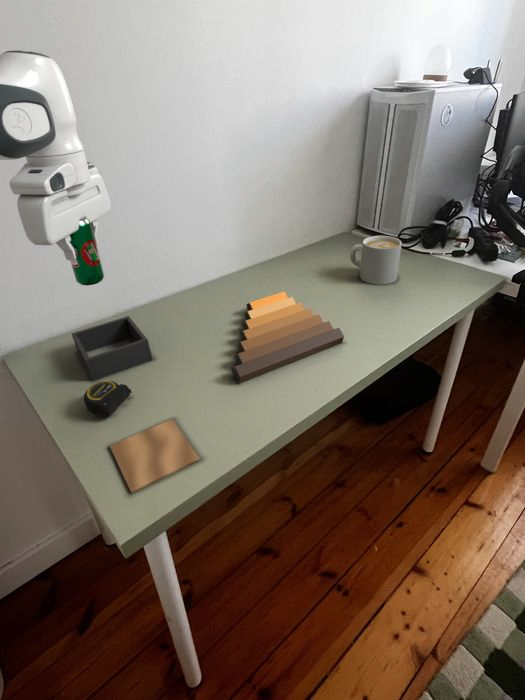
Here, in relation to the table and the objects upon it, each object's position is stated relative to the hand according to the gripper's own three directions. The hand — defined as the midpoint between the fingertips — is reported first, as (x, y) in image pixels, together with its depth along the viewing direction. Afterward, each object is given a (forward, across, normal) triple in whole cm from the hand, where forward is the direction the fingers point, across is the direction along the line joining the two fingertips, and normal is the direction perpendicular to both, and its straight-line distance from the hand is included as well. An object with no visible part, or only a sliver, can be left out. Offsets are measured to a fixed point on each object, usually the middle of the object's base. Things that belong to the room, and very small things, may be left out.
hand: (83, 252), depth 78 cm
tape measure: (+24, +13, +7) cm, 29 cm away
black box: (+24, -2, -1) cm, 24 cm away
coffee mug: (+23, -50, +53) cm, 76 cm away
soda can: (+6, 0, 0) cm, 6 cm away
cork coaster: (+24, +23, +20) cm, 39 cm away
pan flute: (+24, -14, +30) cm, 41 cm away
